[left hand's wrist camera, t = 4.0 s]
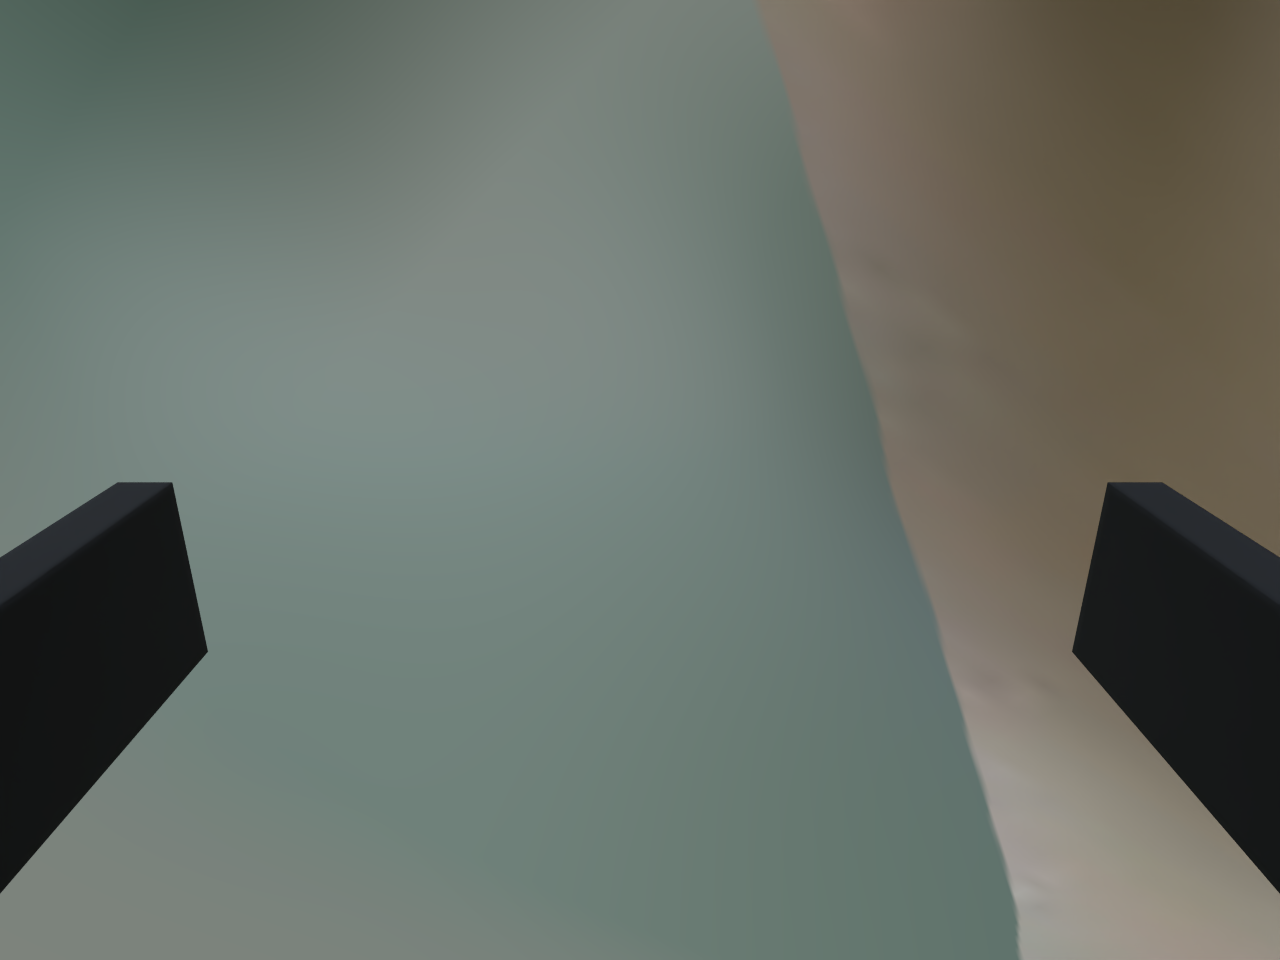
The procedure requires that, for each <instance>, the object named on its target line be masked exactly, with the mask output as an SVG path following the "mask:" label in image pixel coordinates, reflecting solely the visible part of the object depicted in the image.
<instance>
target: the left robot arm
mask: <svg viewBox="0 0 1280 960" xmlns="http://www.w3.org/2000/svg"><path fill="white" fill-rule="evenodd" d="M207 652H208V650H207V645H206V640H205V636H204V631H203V626H202V621H201V617H200V612H199V607H198V603H197V598H196V593H195V588H194V583H193V579H192V574H191V569H190V564H189V560H188V555H187V550H186V545H185V541H184V536H183V531H182V526H181V522H180V517H179V512H178V507H177V503H176V498H175V493H174V488H173V484H172V483H171V482H170V483H169V482H168V483H164V482H163V483H162V482H161V483H159V482H158V483H156V482H153V483H152V482H151V483H146V482H144V483H143V482H140V483H139V482H138V483H136V482H135V483H134V482H128V483H127V482H124V483H123V482H121V483H119V482H118V483H116V484H115V485H113V486H111V487H110V488H108V489H107V490H105V491H104V492H102V493H100V494H99V495H97V496H96V497H94V498H93V499H91V500H90V501H88V502H87V503H85V504H83V505H82V506H80V507H79V508H77V509H75V510H74V511H72V512H71V513H69V514H68V515H66V516H64V517H63V518H61V519H60V520H58V521H57V522H55V523H54V524H52V525H50V526H49V527H47V528H46V529H44V530H43V531H41V532H40V533H38V534H36V535H35V536H33V537H32V538H30V539H29V540H27V541H25V542H24V543H22V544H21V545H19V546H18V547H16V548H14V549H13V550H11V551H10V552H8V553H7V554H5V555H4V556H2V557H0V893H1V892H2V891H3V890H4V888H5V887H6V886H7V885H8V884H9V883H10V881H11V880H12V879H13V878H14V877H15V876H16V874H17V873H18V872H19V871H20V870H21V869H22V867H23V866H24V865H25V864H26V863H27V862H28V860H29V859H30V858H31V857H32V856H33V855H34V854H35V852H36V851H37V850H38V849H39V848H40V847H41V845H42V844H43V843H44V842H45V841H46V839H47V838H48V837H49V836H50V835H51V834H52V832H53V831H54V830H55V829H56V828H57V827H58V826H59V824H60V823H61V822H62V821H63V820H64V819H65V817H66V816H67V815H68V814H69V813H70V812H71V810H72V809H73V808H74V807H75V806H76V805H77V803H78V802H79V801H80V800H81V799H82V798H83V796H84V795H85V794H86V793H87V792H88V791H89V789H90V788H91V787H92V786H93V785H94V784H95V782H96V781H97V780H98V779H99V778H100V777H101V776H102V774H103V773H104V772H105V771H106V770H107V769H108V767H109V766H110V765H111V764H112V763H113V762H114V760H115V759H116V758H117V757H118V756H119V755H120V753H121V752H122V751H123V750H124V749H125V748H126V746H127V745H128V744H129V743H130V742H131V741H132V739H133V738H134V737H135V736H136V735H137V733H138V732H139V731H140V730H141V729H142V728H143V727H144V725H145V724H146V723H147V722H148V721H149V720H150V718H151V717H152V716H153V715H154V714H155V713H156V711H157V710H158V709H159V708H160V707H161V706H162V704H163V703H164V702H165V701H166V700H167V699H168V697H169V696H170V695H171V694H172V693H173V692H174V691H175V689H176V688H177V687H178V686H179V685H180V684H181V682H182V681H183V680H184V679H185V678H186V676H187V675H188V674H189V673H190V672H191V671H192V670H193V668H194V667H195V666H196V665H197V664H198V663H199V661H200V660H201V659H202V658H203V657H204V656H205V654H206V653H207ZM1072 652H1073V653H1074V654H1075V656H1076V657H1077V658H1078V659H1079V660H1080V661H1081V663H1082V664H1083V665H1084V666H1085V667H1086V668H1087V670H1088V671H1089V672H1090V673H1091V674H1092V675H1093V677H1094V678H1095V679H1096V680H1097V681H1098V682H1099V684H1100V685H1101V686H1102V687H1103V688H1104V689H1105V691H1106V692H1107V693H1108V694H1109V695H1110V696H1111V698H1112V699H1113V700H1114V701H1115V702H1116V703H1117V704H1118V706H1119V707H1120V708H1121V709H1122V710H1123V711H1124V713H1125V714H1126V715H1127V716H1128V717H1129V718H1130V720H1131V721H1132V722H1133V723H1134V724H1135V725H1136V727H1137V728H1138V729H1139V730H1140V731H1141V732H1142V734H1143V735H1144V736H1145V737H1146V738H1147V739H1148V741H1149V742H1150V743H1151V744H1152V745H1153V746H1154V748H1155V749H1156V750H1157V751H1158V752H1159V753H1160V755H1161V756H1162V757H1163V758H1164V759H1165V760H1166V762H1167V763H1168V764H1169V765H1170V766H1171V767H1172V769H1173V770H1174V771H1175V772H1176V773H1177V774H1178V776H1179V777H1180V778H1181V779H1182V780H1183V781H1184V782H1185V784H1186V785H1187V786H1188V787H1189V788H1190V789H1191V791H1192V792H1193V793H1194V794H1195V795H1196V796H1197V798H1198V799H1199V800H1200V801H1201V802H1202V803H1203V805H1204V806H1205V807H1206V808H1207V809H1208V810H1209V812H1210V813H1211V814H1212V815H1213V816H1214V817H1215V819H1216V820H1217V821H1218V822H1219V823H1220V824H1221V826H1222V827H1223V828H1224V829H1225V830H1226V831H1227V833H1228V834H1229V835H1230V836H1231V837H1232V838H1233V840H1234V841H1235V842H1236V843H1237V844H1238V845H1239V847H1240V848H1241V849H1242V850H1243V851H1244V852H1245V854H1246V855H1247V856H1248V857H1249V858H1250V859H1251V860H1252V862H1253V863H1254V864H1255V865H1256V866H1257V867H1258V869H1259V870H1260V871H1261V872H1262V873H1263V874H1264V876H1265V877H1266V878H1267V879H1268V880H1269V881H1270V883H1271V884H1272V885H1273V886H1274V887H1275V888H1276V890H1277V891H1278V892H1279V893H1280V557H1278V556H1277V555H1275V554H1273V553H1272V552H1270V551H1269V550H1267V549H1266V548H1264V547H1262V546H1261V545H1259V544H1258V543H1256V542H1255V541H1253V540H1251V539H1250V538H1248V537H1247V536H1245V535H1244V534H1242V533H1241V532H1239V531H1237V530H1236V529H1234V528H1233V527H1231V526H1230V525H1228V524H1226V523H1225V522H1223V521H1222V520H1220V519H1219V518H1217V517H1216V516H1214V515H1212V514H1211V513H1209V512H1208V511H1206V510H1205V509H1203V508H1201V507H1200V506H1198V505H1197V504H1195V503H1194V502H1192V501H1190V500H1189V499H1187V498H1186V497H1184V496H1183V495H1181V494H1180V493H1178V492H1176V491H1175V490H1173V489H1172V488H1170V487H1169V486H1167V485H1165V484H1164V483H1162V482H1108V484H1107V488H1106V493H1105V498H1104V503H1103V507H1102V512H1101V517H1100V522H1099V526H1098V531H1097V536H1096V541H1095V545H1094V550H1093V555H1092V560H1091V564H1090V569H1089V574H1088V579H1087V583H1086V588H1085V593H1084V598H1083V602H1082V607H1081V612H1080V617H1079V621H1078V626H1077V631H1076V636H1075V640H1074V645H1073V650H1072Z"/></svg>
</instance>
